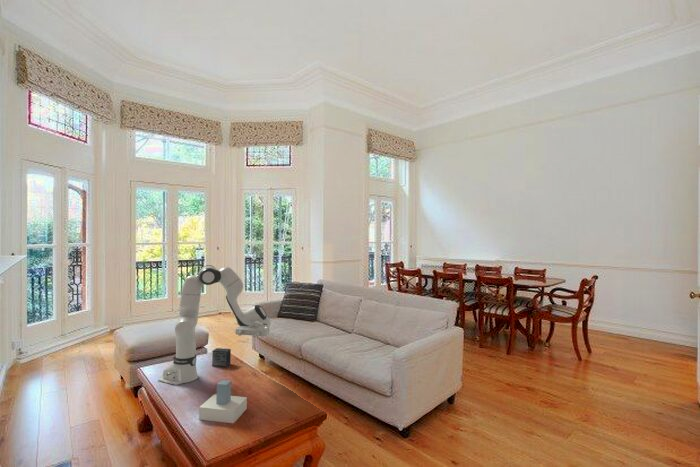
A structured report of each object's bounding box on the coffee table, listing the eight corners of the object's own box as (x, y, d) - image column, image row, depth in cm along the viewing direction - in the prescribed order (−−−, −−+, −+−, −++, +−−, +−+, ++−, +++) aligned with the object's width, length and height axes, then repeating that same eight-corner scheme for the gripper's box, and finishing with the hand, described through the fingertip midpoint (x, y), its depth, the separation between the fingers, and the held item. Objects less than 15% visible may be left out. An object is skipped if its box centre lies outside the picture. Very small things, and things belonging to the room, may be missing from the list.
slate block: (216, 404, 174) (216, 383, 174) (221, 399, 179) (221, 379, 179) (225, 405, 173) (226, 384, 173) (230, 400, 178) (231, 380, 178)
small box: (231, 363, 242) (231, 348, 242) (226, 367, 236) (227, 351, 236) (216, 362, 243) (216, 347, 243) (211, 366, 237) (212, 350, 237)
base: (198, 419, 171) (199, 407, 171) (214, 405, 184) (214, 394, 184) (233, 423, 168) (233, 410, 168) (246, 408, 182) (246, 397, 182)
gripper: (241, 322, 224) (230, 328, 211) (271, 324, 221) (262, 330, 208) (241, 332, 225) (230, 339, 211) (271, 334, 221) (262, 341, 208)
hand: (246, 334), depth 209 cm, fingers open, 8 cm apart
